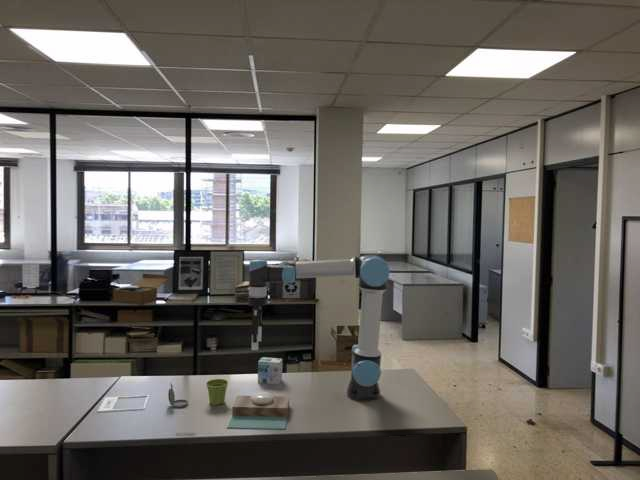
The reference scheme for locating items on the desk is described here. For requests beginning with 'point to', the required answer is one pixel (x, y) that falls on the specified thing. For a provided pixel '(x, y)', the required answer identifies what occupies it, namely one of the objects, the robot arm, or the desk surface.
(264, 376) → the light bulb box
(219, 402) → the plant pot
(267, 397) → the white domed disc
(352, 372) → the robot arm
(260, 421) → the mat
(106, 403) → the photo frame
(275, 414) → the board
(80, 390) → the desk surface
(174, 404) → the pocket watch
